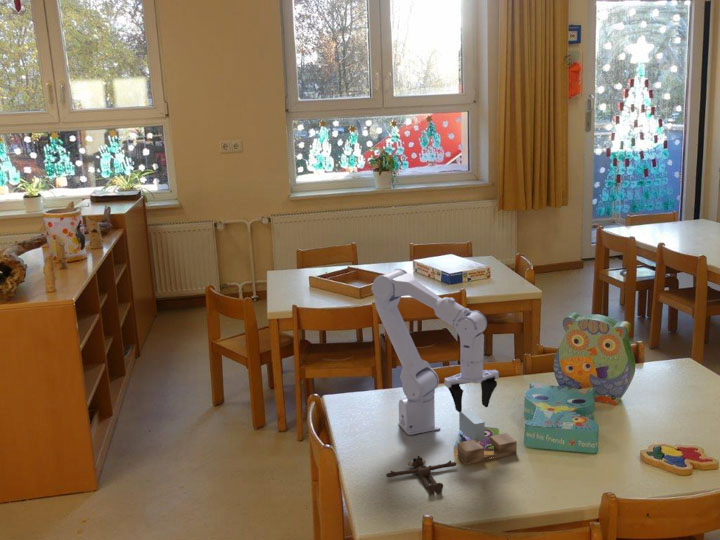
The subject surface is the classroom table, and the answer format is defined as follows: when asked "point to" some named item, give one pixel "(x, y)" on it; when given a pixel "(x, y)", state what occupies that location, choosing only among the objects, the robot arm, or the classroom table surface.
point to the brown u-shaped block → (475, 451)
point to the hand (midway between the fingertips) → (471, 408)
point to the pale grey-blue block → (471, 425)
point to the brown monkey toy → (424, 473)
